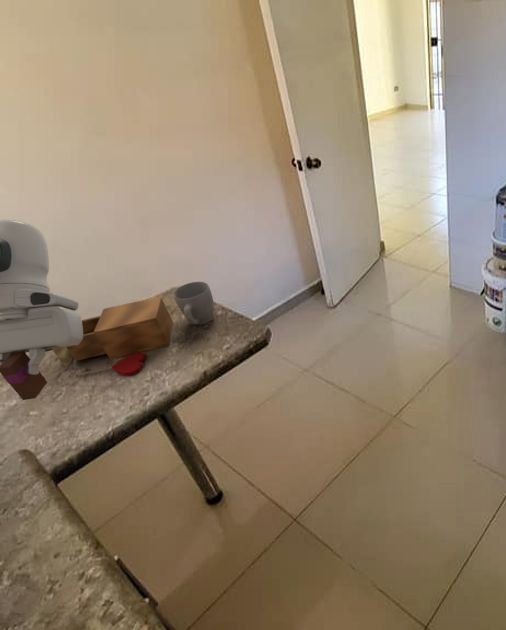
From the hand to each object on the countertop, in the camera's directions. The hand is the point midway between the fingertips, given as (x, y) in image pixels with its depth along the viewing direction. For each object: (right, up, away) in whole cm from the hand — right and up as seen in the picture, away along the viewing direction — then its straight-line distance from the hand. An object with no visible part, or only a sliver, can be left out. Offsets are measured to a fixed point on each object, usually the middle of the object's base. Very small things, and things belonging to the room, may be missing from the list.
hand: (20, 376), depth 81 cm
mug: (+14, +9, +39) cm, 42 cm away
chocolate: (0, -3, +3) cm, 4 cm away
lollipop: (0, -2, +24) cm, 24 cm away
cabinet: (+1, +5, +34) cm, 34 cm away
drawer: (-10, +2, +30) cm, 32 cm away
